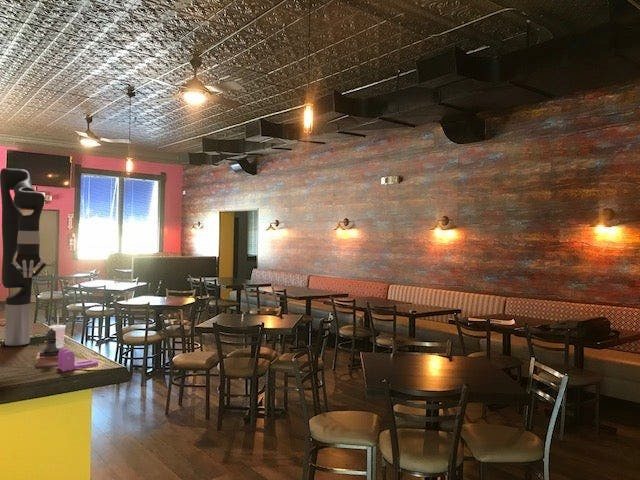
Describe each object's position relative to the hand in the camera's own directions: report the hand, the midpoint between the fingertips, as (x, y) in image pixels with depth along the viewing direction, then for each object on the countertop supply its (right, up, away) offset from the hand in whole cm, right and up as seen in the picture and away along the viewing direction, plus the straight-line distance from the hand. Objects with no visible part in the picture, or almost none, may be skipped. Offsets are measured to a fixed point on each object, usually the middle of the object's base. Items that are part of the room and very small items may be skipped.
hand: (27, 286), depth 199 cm
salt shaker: (+13, -27, -7) cm, 30 cm away
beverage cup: (+4, -27, +15) cm, 31 cm away
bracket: (+26, -29, -12) cm, 40 cm away
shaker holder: (+13, -28, -7) cm, 31 cm away
